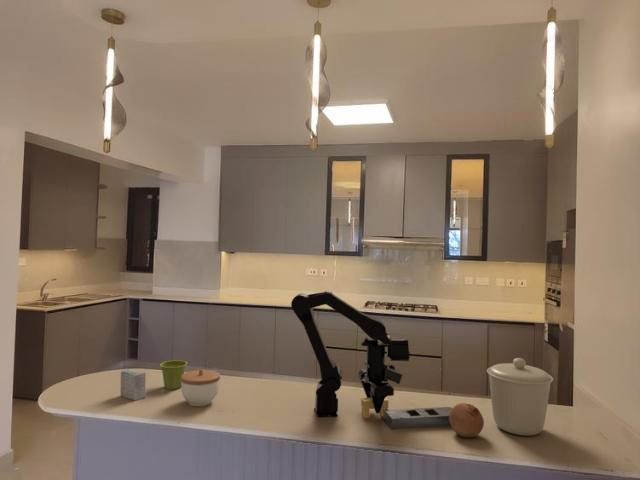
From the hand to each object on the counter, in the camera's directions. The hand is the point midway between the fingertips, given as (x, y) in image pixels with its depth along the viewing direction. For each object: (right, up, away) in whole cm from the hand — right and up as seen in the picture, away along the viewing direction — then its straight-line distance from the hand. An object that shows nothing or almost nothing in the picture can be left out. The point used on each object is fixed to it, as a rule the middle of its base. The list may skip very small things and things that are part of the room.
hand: (374, 409), depth 141 cm
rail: (+14, -2, -5) cm, 15 cm away
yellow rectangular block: (0, -2, 0) cm, 2 cm away
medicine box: (-81, -1, +12) cm, 82 cm away
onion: (+25, -3, -13) cm, 28 cm away
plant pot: (-71, -1, +23) cm, 75 cm away
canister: (+42, -3, -8) cm, 43 cm away
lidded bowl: (-57, -1, +8) cm, 58 cm away
